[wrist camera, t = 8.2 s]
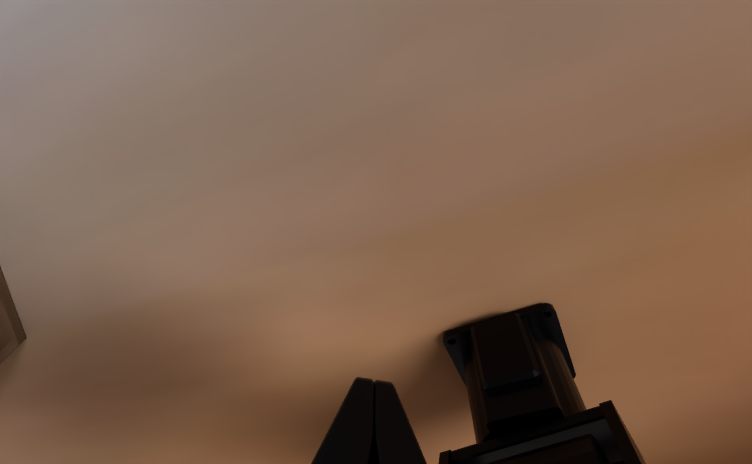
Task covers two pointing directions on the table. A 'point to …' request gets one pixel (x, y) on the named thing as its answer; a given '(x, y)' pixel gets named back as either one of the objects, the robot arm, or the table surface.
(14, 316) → the walnut box
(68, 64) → the table surface
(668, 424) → the table surface
